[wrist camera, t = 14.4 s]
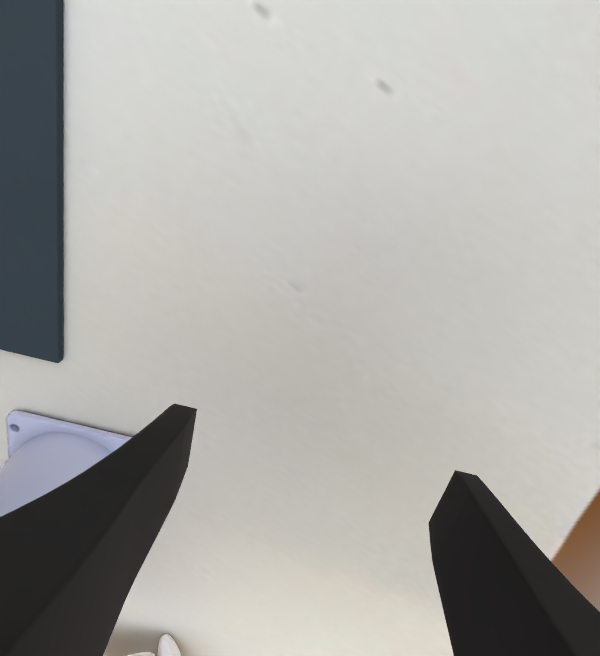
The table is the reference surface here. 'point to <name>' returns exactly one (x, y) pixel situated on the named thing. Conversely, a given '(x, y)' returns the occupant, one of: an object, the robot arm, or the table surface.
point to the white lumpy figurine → (163, 648)
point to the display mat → (31, 178)
